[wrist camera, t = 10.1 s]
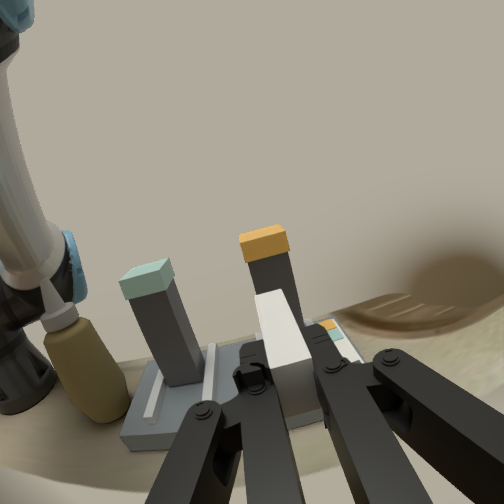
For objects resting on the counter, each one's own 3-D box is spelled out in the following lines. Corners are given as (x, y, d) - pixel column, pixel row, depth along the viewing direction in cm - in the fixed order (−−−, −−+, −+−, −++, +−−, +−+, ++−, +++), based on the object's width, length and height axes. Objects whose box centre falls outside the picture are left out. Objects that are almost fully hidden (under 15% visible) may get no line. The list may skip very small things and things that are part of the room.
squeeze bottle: (88, 398, 33) (29, 281, 29) (137, 384, 35) (81, 260, 31) (82, 435, 26) (2, 301, 21) (139, 422, 28) (63, 277, 23)
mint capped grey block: (166, 388, 29) (118, 281, 26) (172, 366, 34) (132, 267, 30) (204, 381, 29) (159, 269, 26) (206, 359, 34) (168, 257, 30)
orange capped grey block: (271, 356, 31) (239, 243, 28) (267, 336, 36) (238, 234, 32) (310, 345, 31) (285, 230, 28) (302, 326, 36) (278, 223, 32)
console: (130, 451, 23) (113, 429, 22) (155, 375, 37) (144, 355, 36) (379, 399, 23) (379, 373, 22) (336, 331, 37) (332, 308, 36)
